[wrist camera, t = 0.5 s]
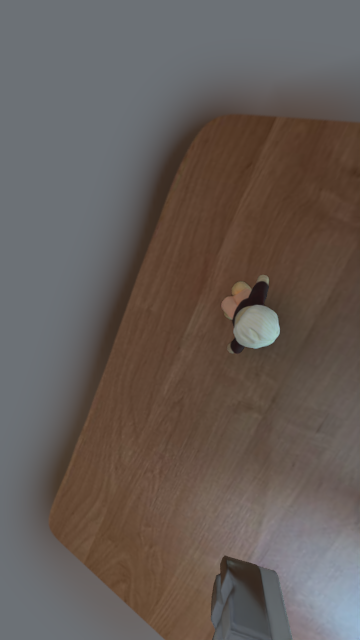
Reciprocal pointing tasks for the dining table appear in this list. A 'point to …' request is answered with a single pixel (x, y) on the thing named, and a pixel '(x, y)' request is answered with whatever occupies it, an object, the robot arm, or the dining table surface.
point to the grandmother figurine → (250, 316)
